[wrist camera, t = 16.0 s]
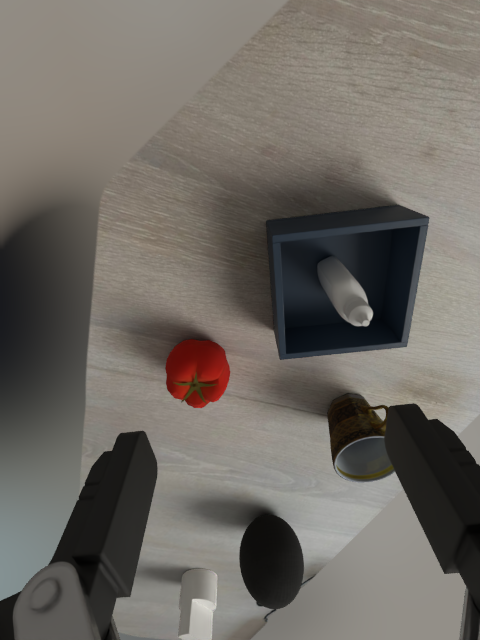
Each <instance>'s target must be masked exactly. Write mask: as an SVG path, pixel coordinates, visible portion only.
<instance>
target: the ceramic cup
mask: <svg viewBox="0 0 480 640" xmlns="http://www.w3.org/2000/svg"><path fill="white" fill-rule="evenodd" d="M382 408H384V409H385V410H386V418H385V420H384V421H382V420H381V419H380V417H379V416H378V415H377V414H376V413H375V411H374V410H378V409H382ZM388 409H389V408H388V407H387V406H385V405H380V406H376V407H372V406H370V405H369V404H368V402H367V401H366V400H365V398H364V397H363V396H361V395H355V394H346V395H343V396H341V397H339V398H337V399H335V400H333V402H332V404H331V406H330V408H329V410H328V412H327V414H328V423H329V433H330V443H331V453H332V460H333V465H334V469H335V471H336V473H337V474H338V475H339V476H340V477H342V478H344V479H346V480H348V481H352V482H360V483H364V482H373V481H377V480H380V479H383V478H386V477H388V476H390V475H391V474H393V473H394V472H395V470H394V468H393V466H392V464H391V462H390V460H389V457H388V455H387V452H386V448H385V442H384V437H385V429H386V422H387V415H388Z"/></svg>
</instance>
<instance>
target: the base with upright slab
mask: <svg viewBox="0 0 480 640" xmlns="http://www.w3.org/2000/svg"><path fill="white" fill-rule="evenodd" d="M217 578H218V576H217V574H216V573H215V572H213V571H211V570H208V569H192V570H188V571H186V572H185V573H184V574H183V575H182V582H181V591H180V599H179V609H180V610H181V614H180V622H179V631H178V637H179V638H181V639H183V640H212V620H213V611H215V609H216V604H217Z"/></svg>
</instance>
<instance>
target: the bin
mask: <svg viewBox="0 0 480 640" xmlns="http://www.w3.org/2000/svg"><path fill="white" fill-rule="evenodd" d="M428 223H429V217H428V216H425V215H423V214H420V213H418V212H415V211H413V210H410V209H408V208H406V207H403V206H401V205H392V206H384V207H375V208H367V209H358V210H350V211H342V212H333V213H325V214H316V215H308V216H299V217H291V218H283V219H274V220H267V221H266V227H267V241H268V255H269V269H270V283H271V297H272V311H273V325H274V334H275V339H276V344H277V348H278V353H279V358H280V360H282V359H292V358H302V357H312V356H321V355H331V354H341V353H351V352H361V351H371V350H381V349H391V348H401V347H407V343H408V338H409V332H410V327H411V321H412V315H413V310H414V304H415V298H416V292H417V287H418V281H419V275H420V269H421V264H422V258H423V252H424V247H425V241H426V235H427V229H428ZM330 256H334V257H336V258H337V259H338V260H339V261H340V262H341V263H342V264H343V265H344V266H345V268H346V269H347V270H348V271H349V272H350V273H351V275H352V276H353V277H354V278H355V279H356V281H357V282H358V283H359V284H360V286H361V287H362V288H363V290H364V292H365V294H366V297H367V300H368V305H369V306H370V307H371V309H372V311H373V316H372V319H371V320H370V324H369V325H368V326H354V325H352V324H351V323H349V322H347V321H346V320H344V319H343V318H342V317H341V316H340V315H339V313H338V312H337V310H336V309H335V307H334V305H333V304H332V302H331V300H330V299H329V297H328V295H327V294H326V292H325V290H324V289H323V287H322V285H321V283H320V281H319V278H318V272H317V265H318V263H319V262H320V261H322V260H324V259H326V258H328V257H330Z"/></svg>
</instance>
